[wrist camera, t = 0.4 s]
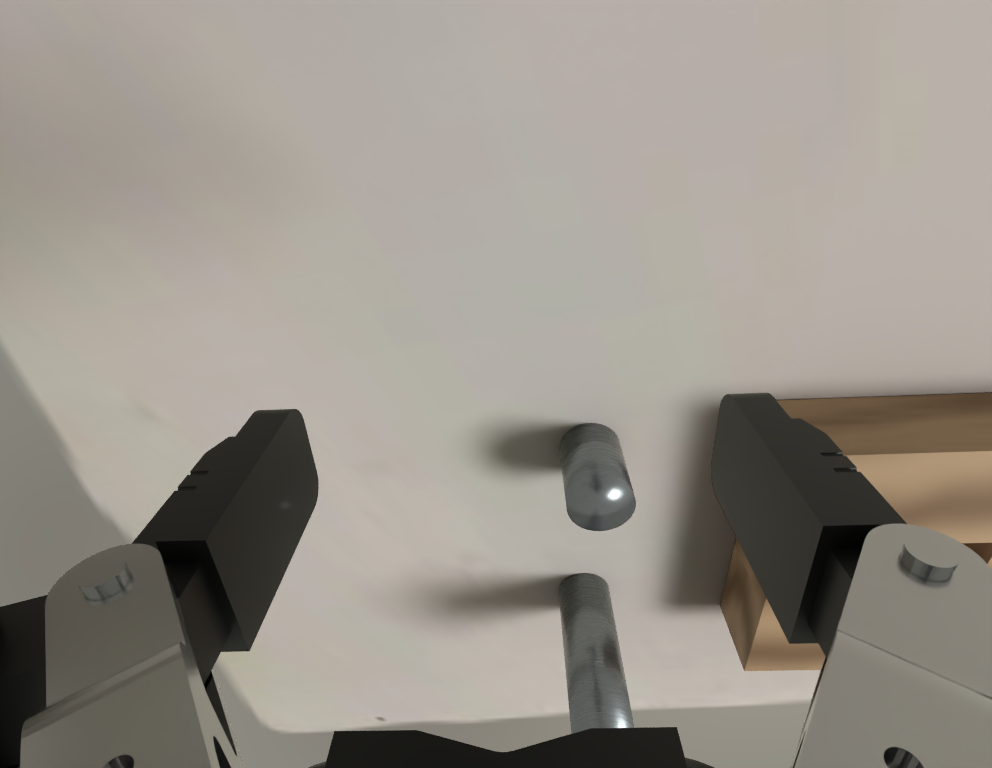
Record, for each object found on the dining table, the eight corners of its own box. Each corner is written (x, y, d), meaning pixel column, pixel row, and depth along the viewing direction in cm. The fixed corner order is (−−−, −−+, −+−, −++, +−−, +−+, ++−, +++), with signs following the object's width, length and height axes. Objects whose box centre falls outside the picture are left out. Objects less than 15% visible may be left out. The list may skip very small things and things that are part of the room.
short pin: (559, 424, 33) (567, 481, 29) (621, 422, 33) (638, 479, 29) (559, 471, 35) (566, 531, 31) (617, 469, 35) (633, 529, 31)
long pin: (558, 573, 40) (574, 738, 31) (609, 572, 40) (641, 738, 31) (558, 606, 42) (573, 771, 33) (607, 605, 42) (636, 771, 32)
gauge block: (768, 400, 32) (808, 456, 28) (1101, 388, 31) (1194, 444, 27) (720, 605, 41) (744, 670, 37) (974, 600, 41) (1028, 666, 36)
